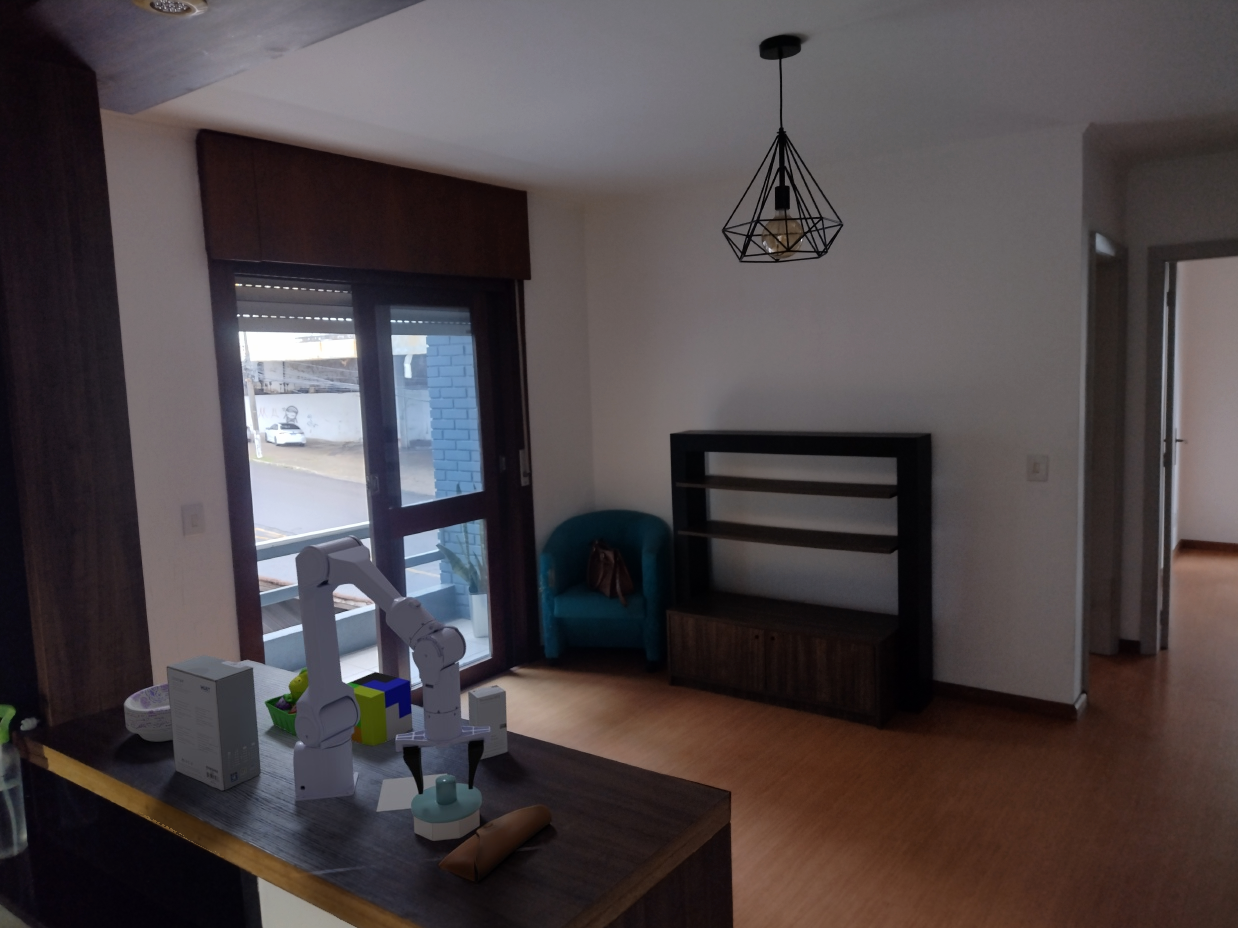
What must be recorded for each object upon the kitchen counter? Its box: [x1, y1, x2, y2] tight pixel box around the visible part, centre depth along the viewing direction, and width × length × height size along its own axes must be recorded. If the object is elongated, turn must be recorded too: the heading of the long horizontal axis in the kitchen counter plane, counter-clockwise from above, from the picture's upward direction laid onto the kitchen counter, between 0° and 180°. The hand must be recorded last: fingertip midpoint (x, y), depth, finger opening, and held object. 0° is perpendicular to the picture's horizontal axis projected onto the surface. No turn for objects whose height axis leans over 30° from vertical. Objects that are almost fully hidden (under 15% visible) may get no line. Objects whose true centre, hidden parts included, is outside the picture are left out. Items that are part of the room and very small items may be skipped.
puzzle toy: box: [346, 671, 413, 747], centre depth 171 cm, size 10×10×10 cm
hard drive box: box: [165, 654, 262, 792], centre depth 154 cm, size 16×8×20 cm, turn 57°
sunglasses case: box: [438, 803, 553, 884], centre depth 130 cm, size 18×7×7 cm
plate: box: [376, 773, 448, 813], centre depth 146 cm, size 11×11×1 cm
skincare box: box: [467, 684, 508, 760], centre depth 160 cm, size 6×4×12 cm
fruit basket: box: [264, 666, 309, 736], centre depth 175 cm, size 11×9×11 cm
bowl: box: [413, 808, 481, 842], centre depth 136 cm, size 10×10×3 cm
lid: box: [410, 774, 483, 823], centre depth 136 cm, size 11×11×4 cm
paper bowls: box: [123, 682, 173, 743], centre depth 173 cm, size 15×15×8 cm
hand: (446, 788), depth 136 cm, fingers open, 7 cm apart
